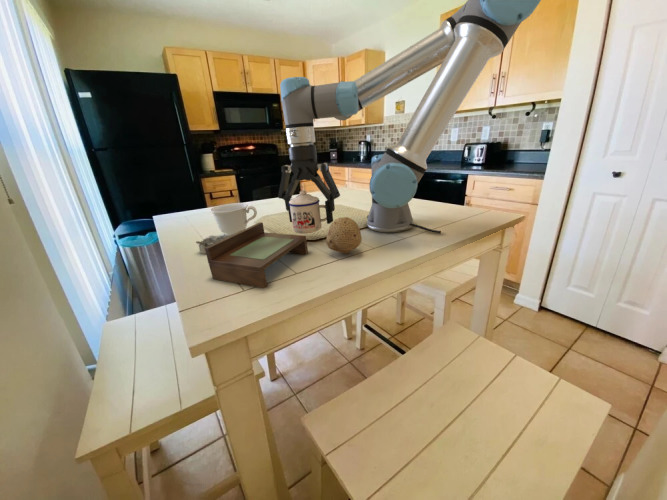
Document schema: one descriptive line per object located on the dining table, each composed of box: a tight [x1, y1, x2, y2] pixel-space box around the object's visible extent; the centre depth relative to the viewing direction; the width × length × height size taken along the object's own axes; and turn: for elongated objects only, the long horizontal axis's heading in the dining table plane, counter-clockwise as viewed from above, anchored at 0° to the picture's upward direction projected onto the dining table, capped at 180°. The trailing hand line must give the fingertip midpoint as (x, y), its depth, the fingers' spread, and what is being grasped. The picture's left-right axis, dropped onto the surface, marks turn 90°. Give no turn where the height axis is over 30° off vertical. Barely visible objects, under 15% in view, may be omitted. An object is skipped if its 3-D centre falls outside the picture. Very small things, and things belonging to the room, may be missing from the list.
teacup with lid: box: [289, 190, 327, 235], centre depth 81 cm, size 12×9×12 cm
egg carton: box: [195, 234, 233, 255], centre depth 82 cm, size 11×8×4 cm
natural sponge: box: [325, 216, 362, 255], centre depth 71 cm, size 9×9×10 cm
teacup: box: [209, 202, 258, 235], centre depth 92 cm, size 12×15×10 cm
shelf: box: [205, 221, 309, 289], centre depth 68 cm, size 15×20×8 cm
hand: (311, 221), depth 82 cm, fingers closed on teacup with lid, 12 cm apart
